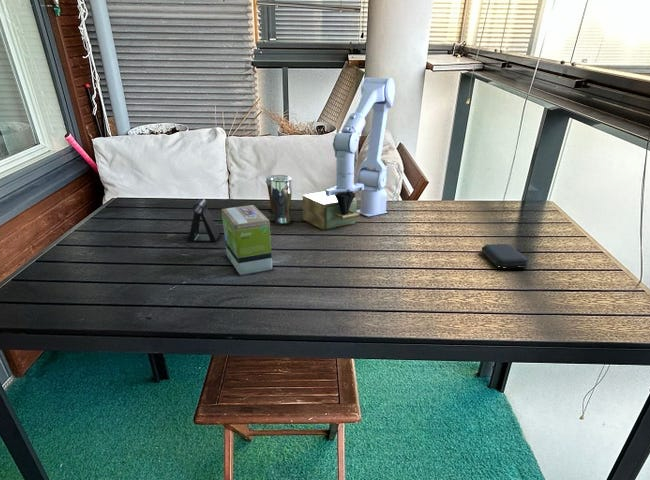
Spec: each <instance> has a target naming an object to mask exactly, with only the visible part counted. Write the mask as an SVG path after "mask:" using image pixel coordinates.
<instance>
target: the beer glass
mask: <svg viewBox="0 0 650 480" xmlns="http://www.w3.org/2000/svg"><path fill="white" fill-rule="evenodd" d="M292 191H293V190H292V178H291V176H289V177H285V176H278V177H273V178H272V182H271V192H272V200H273V204H274V209H275V212H274V219H273V223H274V224H276V225H279V226H282V225H283V226H284V225H290V224H291V223H292V218H291V204H292V195H293V194H292Z"/></svg>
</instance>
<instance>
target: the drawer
mask: <svg viewBox="0 0 650 480" xmlns="http://www.w3.org/2000/svg"><path fill="white" fill-rule="evenodd" d="M357 205H358V202H357V201H356V202H352V203H351V205H350V209H349V212H348V214H347V215H342V214H341V210H340V206H339V204H338V205H334V206H328V207H327V206H326V207H325V227H326V228H329V227H333V226H338V225H343V224H348V223H352V222H355V223H356V222H357V217H360V213H358V212H356V210H358V209H357ZM348 225H349V224H348Z"/></svg>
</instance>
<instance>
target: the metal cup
mask: <svg viewBox="0 0 650 480" xmlns="http://www.w3.org/2000/svg"><path fill="white" fill-rule="evenodd" d="M278 176H285V177H290V176H289V175H286V174H272V175H268V176H267V177H266V180H265V183H266V187H267V191H268V197H269V203H270V209H271V211H272V212H273V213H275V209H274V204H273V200H272V192H271V182H272V178H273V177H278Z"/></svg>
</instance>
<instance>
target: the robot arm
mask: <svg viewBox="0 0 650 480" xmlns="http://www.w3.org/2000/svg"><path fill="white" fill-rule="evenodd" d="M395 93H396V86H395V81H394V80H393V78H392V77H389V78H386V77H385V78H383V77H382V78H381V77H369V76H366V77H365V78H364V79H363V80H362V82H361V87H360V94H361V96H360V98H359V101H358V103H357V106H356V109H355V110H354V112H351V113H350V114H349V115H348V117H347V119H346V121H345V123H344V125H343V127H342V129H341V131H339V132H337V133H336V134H335V135H334V137H333V142H332V149H333V151H334V157H335V158H336V167H335V168H336V176H335V177H336V179H335V180H336V184H335V186H333V187H330V188H327V189H325V190H324V192H325V195H326V196H328V197H330V196H332V195H335V197H336V199H337V201H338V203H339V206H340V210H341V214H342V215H347V214H348V212H349V209H350V205H351V203H352V201H353V199H354V198H356V193H355V192H357V191H360V203H359V204H360V205H359V206H360V207H359V209H357V210H356V213H357V212H358V213H359V215H363V216H365V217H367V218H368V217H373V216H378V215H383V214H387V213H388V211H387V203H388V202H387V200H388V193H387V190H386V188H385V187H386V184H387V179H388V176H387V175H388V174H387V171H388V168H387V166H386V165H385V164H384V162H383V161H382V160H381V159H382V154H383V153H382V152H383V147H384V140H385V134H386V127H387V121H388V113H389V109H391V108H392V107H393V104H394V100H395V99H394V98H395ZM371 109H372V119H371V125H370V133H369V142H368V146H367V155H366V159H365V160H364V161H362V162H361V163H360V164H359V166H358V171H357V174H356V178H355V153H356V152H357V150H358V148H359V141H360V135H361V134H362V131H363V129H364V128H365V126H366V119H365V118H366V117H367V115H368V114H369V113H370V110H371ZM355 179H356V180H355ZM355 181H356V183H355Z"/></svg>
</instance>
